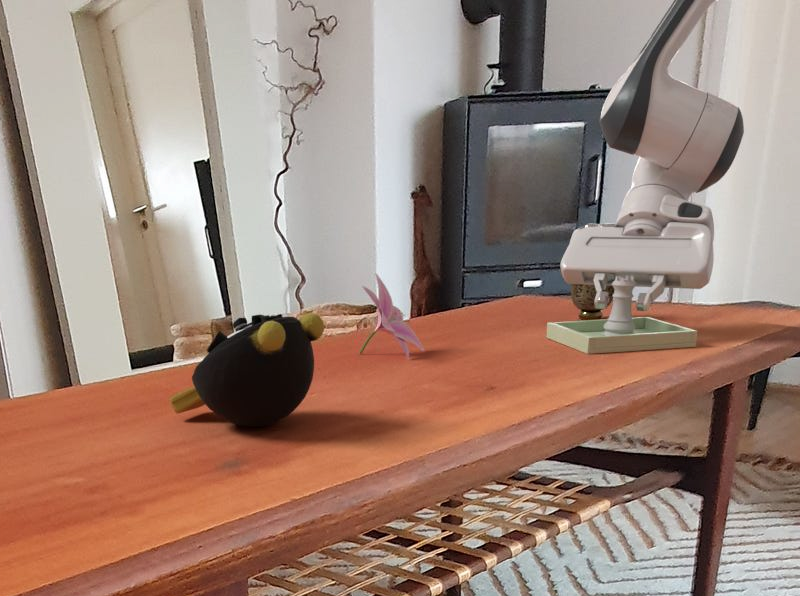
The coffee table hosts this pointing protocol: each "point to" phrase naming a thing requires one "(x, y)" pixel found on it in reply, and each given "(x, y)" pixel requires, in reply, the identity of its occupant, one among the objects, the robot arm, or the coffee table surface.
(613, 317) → the rook chess piece
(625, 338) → the game tray
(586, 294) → the cup
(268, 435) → the coffee table surface
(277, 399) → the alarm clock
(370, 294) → the lily
